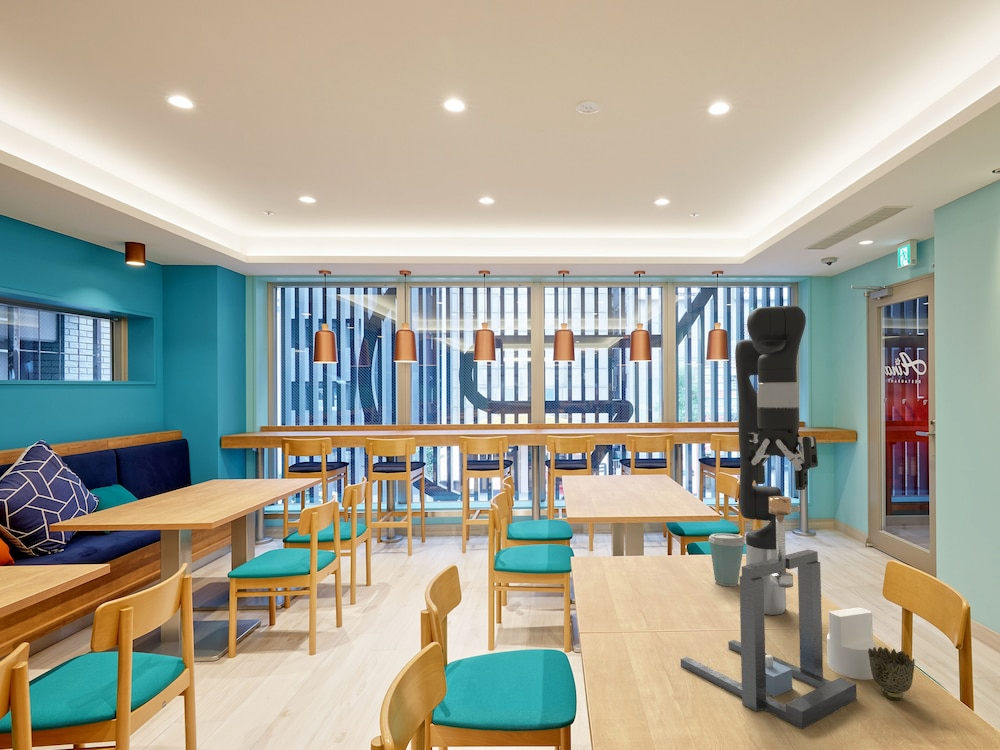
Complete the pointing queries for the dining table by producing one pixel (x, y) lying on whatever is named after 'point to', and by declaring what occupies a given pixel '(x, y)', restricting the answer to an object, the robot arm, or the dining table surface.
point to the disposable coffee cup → (726, 557)
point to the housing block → (777, 677)
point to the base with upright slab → (850, 642)
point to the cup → (891, 671)
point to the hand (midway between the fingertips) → (779, 486)
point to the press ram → (781, 538)
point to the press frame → (753, 658)
